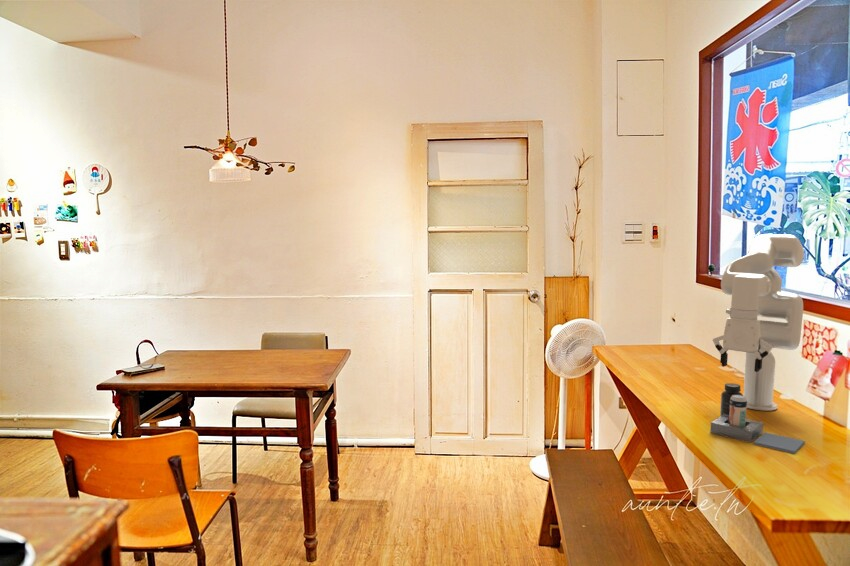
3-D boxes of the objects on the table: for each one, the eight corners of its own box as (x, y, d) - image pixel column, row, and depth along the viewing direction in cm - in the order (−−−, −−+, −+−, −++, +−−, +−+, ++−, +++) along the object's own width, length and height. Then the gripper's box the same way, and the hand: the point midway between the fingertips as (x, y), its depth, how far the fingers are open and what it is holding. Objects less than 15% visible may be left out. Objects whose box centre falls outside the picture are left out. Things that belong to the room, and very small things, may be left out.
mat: (765, 434, 198) (765, 432, 198) (804, 443, 190) (804, 440, 190) (753, 444, 189) (753, 441, 189) (794, 453, 182) (794, 451, 182)
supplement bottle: (730, 415, 218) (732, 381, 216) (746, 421, 211) (749, 386, 210) (715, 417, 215) (717, 383, 214) (731, 423, 209) (733, 388, 208)
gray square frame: (723, 424, 207) (723, 414, 207) (762, 433, 199) (763, 422, 199) (710, 433, 199) (710, 422, 198) (751, 442, 191) (751, 431, 190)
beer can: (730, 429, 202) (732, 393, 201) (746, 432, 199) (748, 396, 198) (726, 433, 199) (728, 396, 197) (742, 436, 196) (745, 399, 194)
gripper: (710, 312, 198) (707, 365, 200) (771, 319, 186) (767, 375, 188) (719, 310, 204) (715, 362, 205) (778, 316, 192) (774, 371, 193)
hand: (740, 368), depth 197 cm, fingers open, 9 cm apart
